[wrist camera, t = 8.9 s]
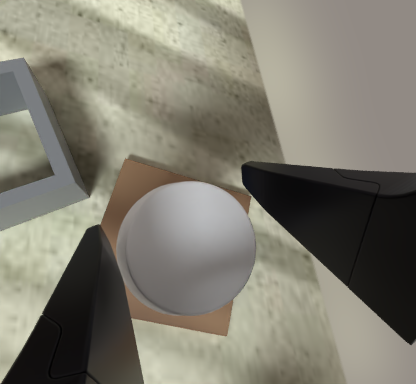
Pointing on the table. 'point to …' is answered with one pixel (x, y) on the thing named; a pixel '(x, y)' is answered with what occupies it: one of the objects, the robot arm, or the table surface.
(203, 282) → the pill bottle
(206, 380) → the table surface
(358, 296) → the robot arm
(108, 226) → the walnut coaster
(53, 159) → the holder box
